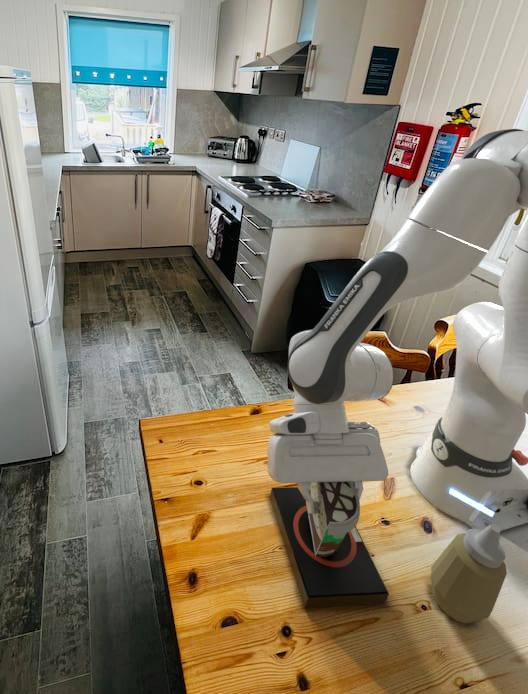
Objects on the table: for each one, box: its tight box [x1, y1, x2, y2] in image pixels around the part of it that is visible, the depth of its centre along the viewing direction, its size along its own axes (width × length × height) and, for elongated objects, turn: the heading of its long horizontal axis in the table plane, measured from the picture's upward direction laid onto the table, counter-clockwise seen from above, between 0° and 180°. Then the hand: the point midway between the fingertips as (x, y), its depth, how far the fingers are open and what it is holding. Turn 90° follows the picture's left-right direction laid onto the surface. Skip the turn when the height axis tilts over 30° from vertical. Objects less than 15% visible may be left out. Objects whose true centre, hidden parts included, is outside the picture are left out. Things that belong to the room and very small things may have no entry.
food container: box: [308, 481, 361, 557], centre depth 66 cm, size 12×6×10 cm, turn 171°
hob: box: [269, 486, 390, 609], centre depth 69 cm, size 13×18×3 cm
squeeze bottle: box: [430, 524, 508, 624], centre depth 59 cm, size 8×8×18 cm
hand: (333, 512), depth 65 cm, fingers closed on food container, 5 cm apart
